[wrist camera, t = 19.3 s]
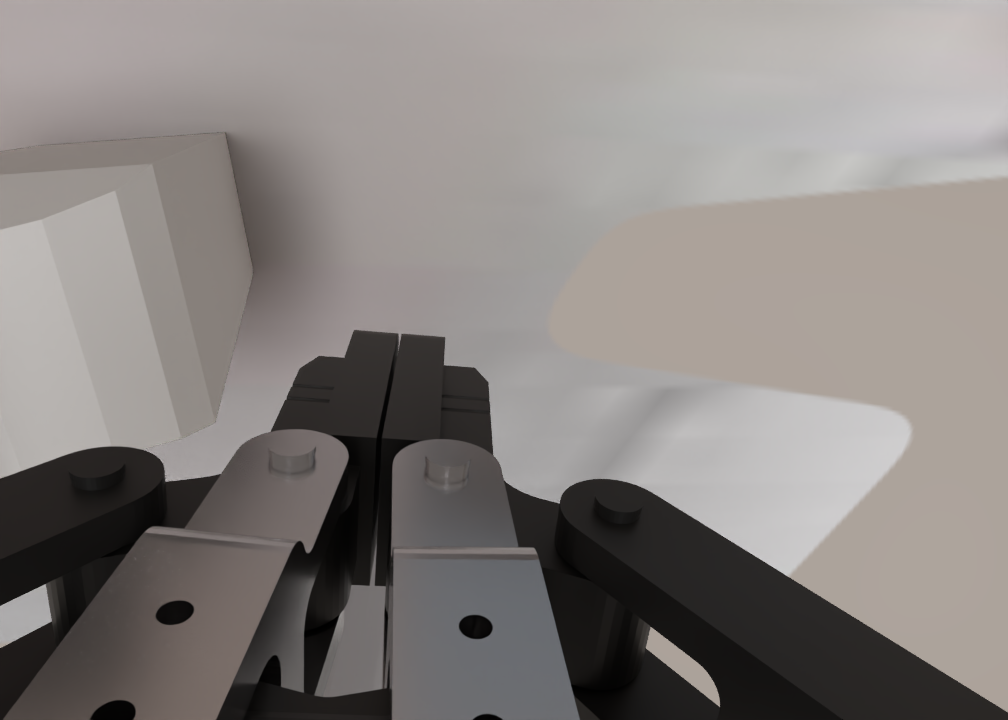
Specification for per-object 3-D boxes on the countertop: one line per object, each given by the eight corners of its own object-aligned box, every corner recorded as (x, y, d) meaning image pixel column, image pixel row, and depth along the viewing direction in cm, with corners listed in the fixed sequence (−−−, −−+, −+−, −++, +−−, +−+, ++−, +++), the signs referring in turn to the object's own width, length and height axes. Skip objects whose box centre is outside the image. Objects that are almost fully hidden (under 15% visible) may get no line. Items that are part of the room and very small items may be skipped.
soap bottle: (55, 338, 39) (-582, 844, 15) (-13, 128, 35) (-1035, 374, 11) (304, 319, 39) (59, 789, 15) (266, 109, 35) (-149, 307, 11)
